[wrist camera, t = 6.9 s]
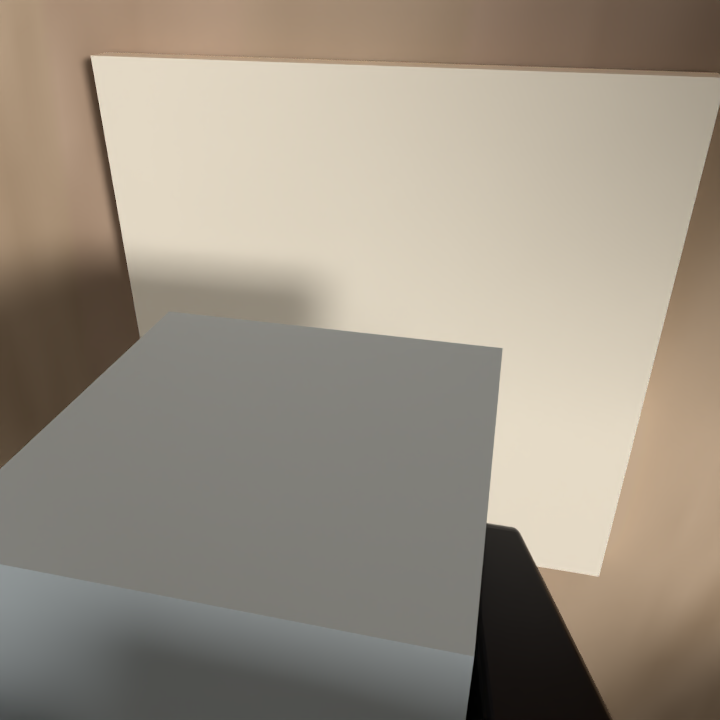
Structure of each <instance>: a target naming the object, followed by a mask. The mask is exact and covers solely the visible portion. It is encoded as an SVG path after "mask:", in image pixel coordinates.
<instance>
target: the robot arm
mask: <svg viewBox="0 0 720 720" xmlns="http://www.w3.org/2000/svg"><path fill="white" fill-rule="evenodd" d="M466 720H613V719H612V717H611V715H610V713H609V711H608V709H607V707H606V705H605V703H604V701H603V699H602V697H601V695H600V693H599V691H598V689H597V687H596V685H595V683H594V681H593V679H592V677H591V675H590V673H589V671H588V669H587V667H586V664H585V662H584V660H583V658H582V656H581V654H580V652H579V650H578V648H577V646H576V644H575V642H574V640H573V638H572V636H571V634H570V632H569V630H568V628H567V626H566V624H565V622H564V620H563V618H562V616H561V614H560V612H559V610H558V608H557V606H556V604H555V602H554V600H553V598H552V596H551V594H550V592H549V590H548V588H547V586H546V584H545V582H544V580H543V578H542V576H541V574H540V572H539V570H538V568H537V566H536V564H535V562H534V560H533V558H532V556H531V554H530V552H529V550H528V548H527V546H526V544H525V542H524V540H523V538H522V536H521V534H520V532H519V531H518V530H517V529H516V528H514V527H509V526H503V525H497V524H491V523H486V534H485V545H484V556H483V567H482V577H481V588H480V599H479V610H478V621H477V632H476V643H475V653H474V662H473V669H472V676H471V684H470V691H469V698H468V705H467V713H466Z"/></svg>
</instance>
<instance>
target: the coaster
mask: <svg viewBox="0 0 720 720" xmlns="http://www.w3.org/2000/svg"><path fill="white" fill-rule="evenodd" d="M91 61H92V67H93V72H94V78H95V84H96V89H97V95H98V101H99V107H100V112H101V118H102V124H103V129H104V135H105V141H106V147H107V152H108V158H109V164H110V169H111V175H112V181H113V187H114V192H115V198H116V204H117V209H118V215H119V221H120V227H121V232H122V238H123V244H124V249H125V255H126V261H127V267H128V272H129V278H130V284H131V289H132V295H133V301H134V307H135V312H136V318H137V324H138V329H139V335H140V338H141V337H142V336H143V335H144V334H146V333H147V332H148V331H149V330H150V329H151V328H152V327H153V326H154V325H155V324H156V323H157V322H158V321H159V320H161V319H162V318H163V317H164V316H165V315H166V314H167V313H168V312H178V313H187V314H196V315H205V316H215V317H224V318H233V319H242V320H251V321H260V322H269V323H278V324H287V325H297V326H306V327H315V328H324V329H333V330H342V331H351V332H360V333H369V334H379V335H388V336H397V337H406V338H415V339H424V340H433V341H442V342H451V343H460V344H470V345H479V346H488V347H497V348H503V350H502V360H501V371H500V382H499V393H498V404H497V415H496V426H495V436H494V447H493V458H492V469H491V480H490V491H489V501H488V512H487V523H491V524H497V525H503V526H509V527H514V528H516V529H517V530H518V531H519V532H520V534H521V536H522V538H523V540H524V542H525V544H526V546H527V548H528V550H529V552H530V554H531V556H532V558H533V560H534V562H535V564H536V566H538V567H544V568H550V569H556V570H562V571H568V572H574V573H580V574H586V575H592V576H598V577H599V574H600V570H601V566H602V562H603V558H604V554H605V550H606V546H607V543H608V539H609V535H610V531H611V527H612V523H613V519H614V515H615V511H616V507H617V504H618V500H619V496H620V492H621V488H622V484H623V480H624V476H625V472H626V468H627V464H628V461H629V457H630V453H631V449H632V445H633V441H634V437H635V433H636V429H637V425H638V422H639V418H640V414H641V410H642V406H643V402H644V398H645V394H646V390H647V386H648V382H649V379H650V375H651V371H652V367H653V363H654V359H655V355H656V351H657V347H658V343H659V340H660V336H661V332H662V328H663V324H664V320H665V316H666V312H667V308H668V304H669V300H670V297H671V293H672V289H673V285H674V281H675V277H676V273H677V269H678V265H679V261H680V258H681V254H682V250H683V246H684V242H685V238H686V234H687V230H688V226H689V222H690V218H691V215H692V211H693V207H694V203H695V199H696V195H697V191H698V187H699V183H700V179H701V176H702V172H703V168H704V164H705V160H706V156H707V152H708V148H709V144H710V140H711V136H712V133H713V129H714V125H715V121H716V117H717V113H718V109H719V105H720V74H719V73H710V72H680V71H651V70H621V69H591V68H562V67H532V66H503V65H473V64H443V63H414V62H384V61H355V60H325V59H295V58H266V57H236V56H206V55H177V54H147V53H118V52H106V53H101V54H96V55H91Z"/></svg>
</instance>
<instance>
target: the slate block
mask: <svg viewBox="0 0 720 720" xmlns="http://www.w3.org/2000/svg"><path fill="white" fill-rule="evenodd" d="M502 350H503V348H497V347H488V346H479V345H470V344H460V343H451V342H442V341H433V340H424V339H415V338H406V337H397V336H388V335H379V334H369V333H360V332H351V331H342V330H333V329H324V328H315V327H306V326H297V325H287V324H278V323H269V322H260V321H251V320H242V319H233V318H224V317H215V316H205V315H196V314H187V313H178V312H168V313H167V314H166V315H165V316H164V317H163V318H162V319H161V320H159V321H158V322H157V323H156V324H155V325H154V326H153V327H152V328H151V329H150V330H149V331H148V332H147V333H146V334H144V335H143V336H142V337H141V338H140V339H139V340H138V341H137V342H136V343H135V344H134V345H133V346H132V347H130V348H129V349H128V350H127V351H126V352H125V353H124V354H123V355H122V356H121V357H120V358H119V359H118V360H117V361H115V362H114V363H113V364H112V365H111V366H110V367H109V368H108V369H107V370H106V371H105V372H104V373H103V374H102V375H100V376H99V377H98V378H97V379H96V380H95V381H94V382H93V383H92V384H91V385H90V386H89V387H88V388H86V389H85V390H84V391H83V392H82V393H81V394H80V395H79V396H78V397H77V398H76V399H75V400H74V401H73V402H71V403H70V404H69V405H68V406H67V407H66V408H65V409H64V410H63V411H62V412H61V413H60V414H59V415H58V416H56V417H55V418H54V419H53V420H52V421H51V422H50V423H49V424H48V425H47V426H46V427H45V428H44V429H43V430H41V431H40V432H39V433H38V434H37V435H36V436H35V437H34V438H33V439H32V440H31V441H30V442H29V443H27V444H26V445H25V446H24V447H23V448H22V449H21V450H20V451H19V452H18V453H17V454H16V455H15V456H14V457H12V458H11V459H10V460H9V461H8V462H7V463H6V464H5V465H4V466H3V467H2V468H1V469H0V720H466V713H467V705H468V698H469V691H470V684H471V676H472V669H473V662H474V653H475V643H476V632H477V621H478V610H479V599H480V588H481V577H482V567H483V556H484V545H485V534H486V523H487V512H488V501H489V491H490V480H491V469H492V458H493V447H494V436H495V426H496V415H497V404H498V393H499V382H500V371H501V360H502Z"/></svg>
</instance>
